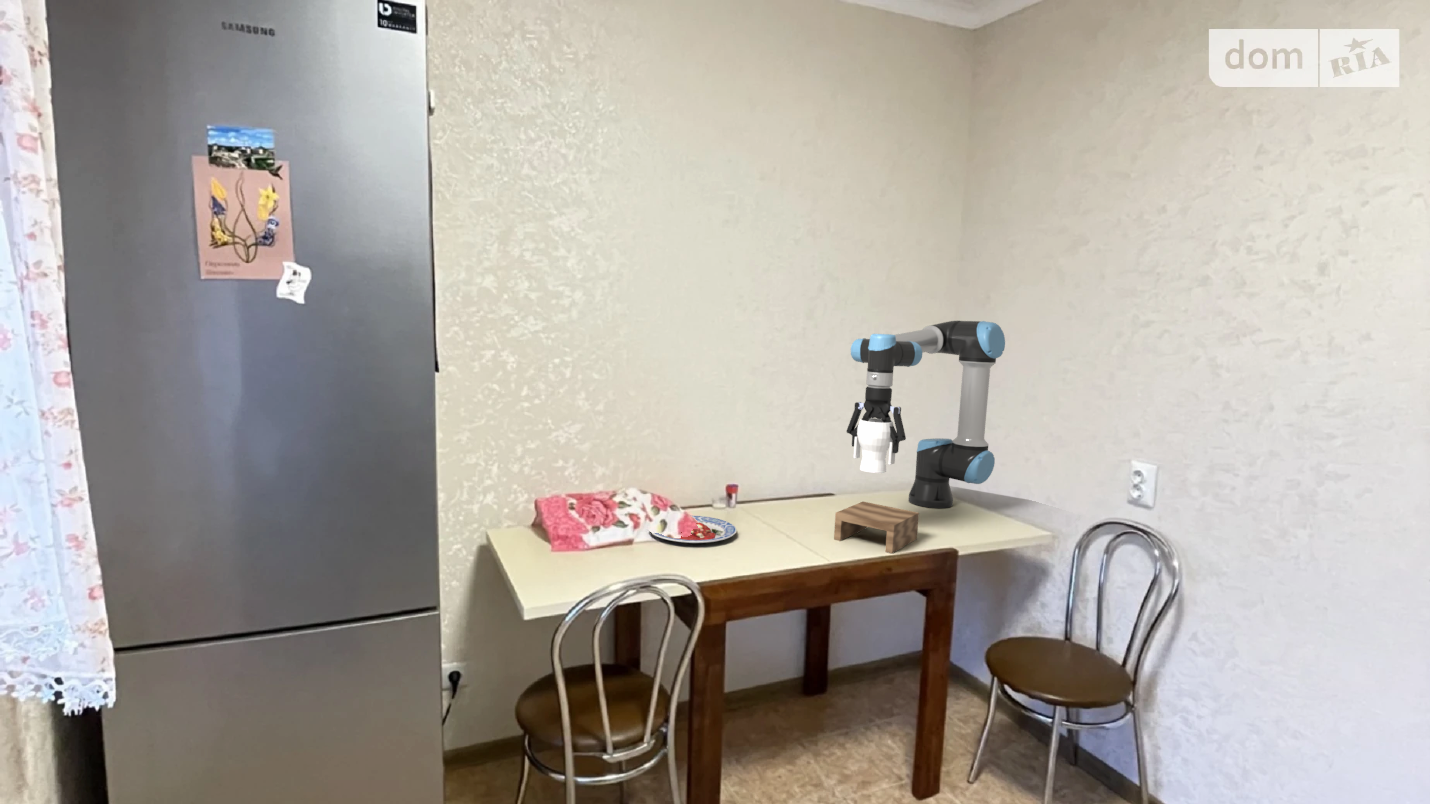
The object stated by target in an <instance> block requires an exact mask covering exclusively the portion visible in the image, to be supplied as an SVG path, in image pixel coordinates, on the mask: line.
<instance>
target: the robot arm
mask: <svg viewBox="0 0 1430 804" xmlns="http://www.w3.org/2000/svg"><path fill="white" fill-rule="evenodd" d="M850 346H851V347H850V355H851V358H852V360H854V361H855V362H857V363H862V364H867V368H866V385H867V386H866V387H865V392H864V394H865V397H864V398H865V399H864V402H862V401H858V402H857V401H856V402H855V403H854V410H853V413H852V415H851V418H850V421H849V423H848V426H847V429H846V434H849V435H851V447H853V457H852V458H853V459H859V458H861V446H860V444H859V441H858V436H857V429H858V425H859V420H860V419H861V420H863V421H869V419H870V418H876V419H882V421H883V422H884V423H889V422H891V421H892V420H891V415H890V414H889V413H890V412H891V413H892V416H893V420H894V421H893V423H894V425H893V426H890V437H891V439H892V442H890V446H889V449H888V458H887V459H888V461H887V465H894V464H895V462H896V454H898V453H899V448H900V447H899V445H900V442H903V441H906V439H907V438H906V437H907V436H906V433H905V428H904V424H903V419H902V413H901V412H902V407H901V406H893V405H892V402H891V401H892V393H893V389H892V388H891V387H893V381H894V369H895V368H894V367H907V368H910V367H914V366H917V365H918V364H919V363H920V362H921V360H922V359H923V353H927V354H931V355H933V354H946V355H947V354H948V355H954V356H955V355H956V356H958V362H959V363H960V364H961V366H962V374H961V375H962V376H961V386H960V387H961V388H960V389H961V390H960V397H959V399H960V400H959V410H958V411H959V412H958V413H959V414H958V421H957V422H958V425H957V435H956V437H955V438H954V439H953V440H952V439H951V438H923V439H921V440H919V441H918V442H917V443H918V444H917V449H916V460H915V475H914V482H913V484H912V486H911V488H910V491H909V493H908V502H909V503H911V504H913V505H916V506H920V507H924V508H932V509H933V508H934V509H948V508H950V507H953V504H954V497H953V494H952V490H951V486H950V480H951V479H952V480H956V481H961V482H965V483H967V484H974V485H981V484H983V483H985V482H986V481H987V480H988V479H989V478H990V476H991V475H992V473H993V471H994V467H995V464H996V463H995V455H994V453H993V452H991V450H989V443H988V442H987V441H986V439H985V433H986V424H987V423H986V421H987V412H988V411H987V410H988V409H987V408H988V397H989V387H990V376H991V375H990V374H991V368H992V367H993V366H994V365H995V364H996V361H997V359H998V358H1000V357H1002V355H1003V353H1004V351H1005V347H1006V337H1005V334H1004V331H1003V330H1002V327H1000V325H999V324H998V323H995V322H992V321H991V322H990V321H985V320H981V321H979V320H977V321H976V320H949V321H944V322H941V323H940V322H939V323H935V324H931V325H927V326H925V327H923V328H922V329H920V330H913V331H908V332H902V333H897V334H892V333H891V334H889V333H872V334H871V335H870V337H869V338H865V337H864V338H856V339H855V340H854V341H853V342H852V343H851V345H850ZM864 409H865V413H864V414H863V415H862V418H860V417H861V413H862V411H863V410H864ZM859 418H860V419H859Z"/></svg>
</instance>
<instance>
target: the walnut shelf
mask: <svg viewBox="0 0 1430 804" xmlns="http://www.w3.org/2000/svg"><path fill="white" fill-rule="evenodd" d="M834 516H835V517H834V533H833V540H835V541H839V542H841V541H843V540H845V539H847V538H849V537H852V536H853V535H855V533H856V534H858V533H860V532H862V531H864V530H866V529H867V528H872V529H876V530H881V531H885V532H886V537H885V550H884V551H885V553H888V552H889V553H888V554H894V553H895V552H897V551H899V550H900V549H903V548H904V547H906V546H908V545H909V544H911V543H913V542H914V541H916V540H918V534H919V533H918V532H919V531H918V530H919V519H920V518H919V517H920V513H919V512H917V511H912V510H907V509H902V508H897V507H892V506H887V505H883V504H877V503H872V502H868V501H860V502H858V503H855V504H853V505H850V506H849V507H846V508H843V509H841V510H838V511H835V515H834ZM865 528H866V529H865ZM863 529H864V530H863ZM857 532H858V533H857ZM905 545H906V546H905ZM893 552H894V553H893Z"/></svg>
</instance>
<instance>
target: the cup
mask: <svg viewBox="0 0 1430 804" xmlns="http://www.w3.org/2000/svg"><path fill="white" fill-rule="evenodd" d="M861 419H862V418H860V419H859V421H858V424H859V425H858V424H857V425H858V429H857V436H858V441H859V444H860V449H861V461H860V465H859V470H860V471H861V472H865V473H874V474H882V473H886V472H887V464H886V463H887V462H886V458H887V452H888V451H889V446H890V442H892V439H891V437H890V426H894V421H893V420H891V422H889V423H884V422H883V421H882V419H877V418H870V419H869V421H863V420H861Z"/></svg>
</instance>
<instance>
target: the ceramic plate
mask: <svg viewBox="0 0 1430 804" xmlns="http://www.w3.org/2000/svg"><path fill="white" fill-rule="evenodd" d="M691 516H692V517H693V518H695V519H696V520H697V521H698V523H696V524H697V526H698V528H700V529H701V530H702V531H701V530H700V529H693V530H692V531H691V534H692V535H690V536H688V537H682V536H681V538H671V537H667V536H664V535H662V534H659V533H652V534H651V535H653V536H655V537H656V538H657V537H658V538H659V539H662V540H667V541H672V542H677V543H682V544H708V543H714V542H719V541H723V540H727V539H729V538H731V537H732V538H733V536H734V535H735V534H736V533H737V528H736V526H735V525H734V524H732V523H731V522H728V521H727V520H724V519H720V518H715V517H710V516H704V515H702V516H701V515H691ZM681 533H682V532H681Z"/></svg>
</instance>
